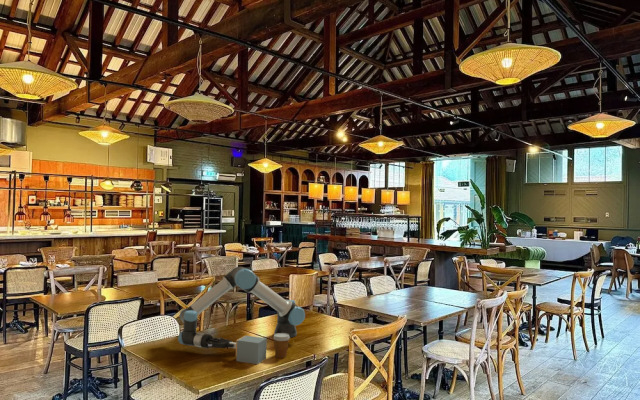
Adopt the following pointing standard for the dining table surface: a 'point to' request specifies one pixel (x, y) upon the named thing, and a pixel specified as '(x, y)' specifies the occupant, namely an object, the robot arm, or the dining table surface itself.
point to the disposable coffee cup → (281, 344)
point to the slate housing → (251, 349)
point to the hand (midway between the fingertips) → (239, 346)
